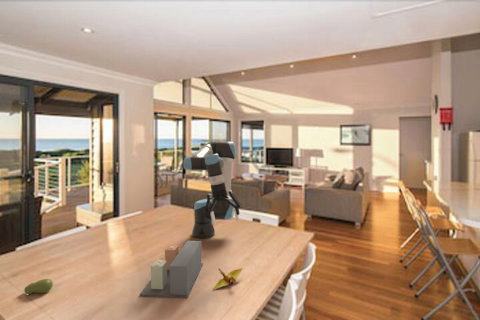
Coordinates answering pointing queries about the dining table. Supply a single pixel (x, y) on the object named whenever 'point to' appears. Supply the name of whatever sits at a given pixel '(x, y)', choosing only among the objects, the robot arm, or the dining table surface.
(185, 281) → the console
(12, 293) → the dining table surface
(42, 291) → the pear
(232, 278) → the origami crane
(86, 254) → the dining table surface
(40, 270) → the dining table surface
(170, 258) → the button one
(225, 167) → the robot arm
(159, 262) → the button two
